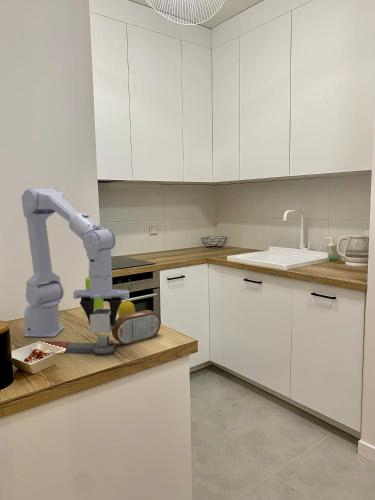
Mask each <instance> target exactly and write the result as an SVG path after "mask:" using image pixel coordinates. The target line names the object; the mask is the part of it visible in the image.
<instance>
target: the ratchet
mask: <svg viewBox="0 0 375 500" xmlns="http://www.w3.org/2000/svg"><path fill="white" fill-rule="evenodd" d="M40 342H45V343H48V344H51V345H55V346H59V347H63V348H66V351H65V352H64V353H63V354H73V355H75V354H77V355H79V354H81V355H82V354H83V355H84V354H85V355H93V356H96V357H107V356H110V355H112V354H114V353H115V352H116V344H115V343H114V342H113V341H111V340H110V334H99V335H98V336H97V338H96V342H70V341H65V340H64V341H62V340H61V341H56V340H53V341H52V340H50V341H49V340H44V341H43V340H41V341H40Z"/></svg>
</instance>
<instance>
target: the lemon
mask: <svg viewBox="0 0 375 500" xmlns="http://www.w3.org/2000/svg"><path fill="white" fill-rule="evenodd" d="M135 312H136V308H135V304H134V303H133V302H132V301H130V300H129V299H124V301H121V304H120V306H119V309H118V312H117V315H118V318H119V317H120V316H122V315H125V314H130V313H135Z"/></svg>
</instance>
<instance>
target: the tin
mask: <svg viewBox="0 0 375 500" xmlns="http://www.w3.org/2000/svg"><path fill="white" fill-rule="evenodd" d="M161 324H162V323H161V317H160V316H159V315H158V314H157V313H156V312H154V311H153V310H149V309H145V310H141V311H135V313H130V314H125V315H122V316H120V317H119V316H118V318H116V322H115V326H114V328H113V329H112V331H111V335H112V337H113V338H114V340H115V341H117V342H118V343H120V344H122V345H129V344H130V345H131V344H134V343H137V342H140V341H145V340H149V339H153V338H154V337H155V336H156V335H158V332H159V331H160V328H161Z"/></svg>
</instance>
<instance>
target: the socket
mask: <svg viewBox="0 0 375 500" xmlns="http://www.w3.org/2000/svg"><path fill="white" fill-rule="evenodd" d="M114 326H115V325H114ZM114 326H111V311H110V308H104V309H99V308H95V309H94V311H93V312H92V313H91V314H90V325H89V329H90V331H89V332H90V334H110V333H112V329H113V328H114Z"/></svg>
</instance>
